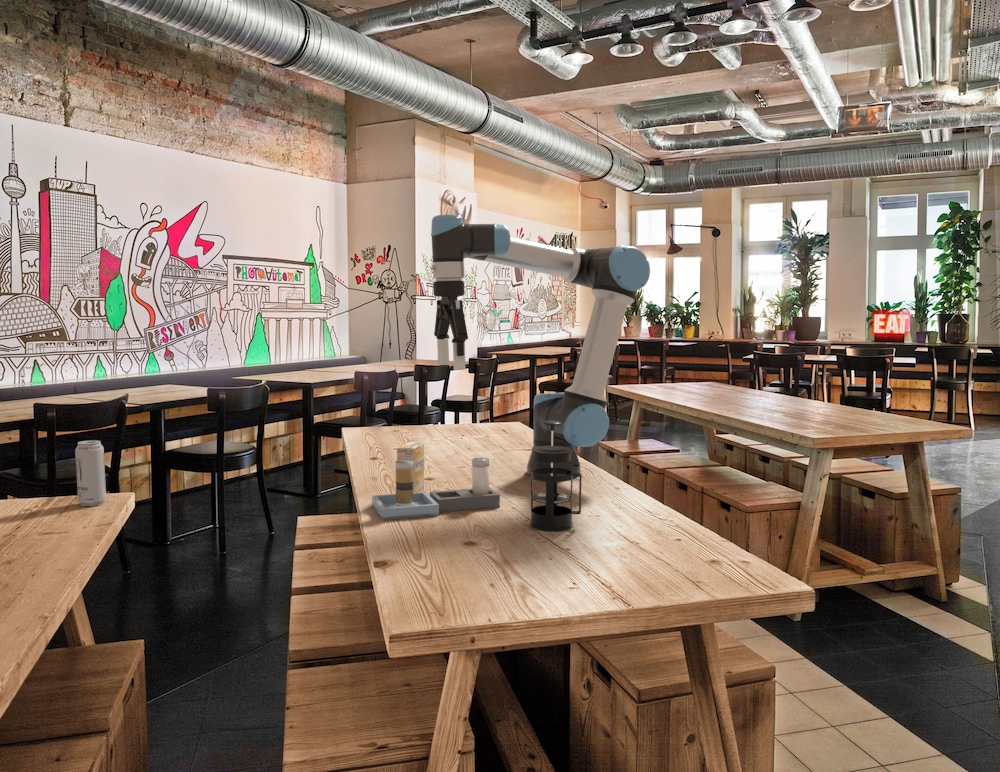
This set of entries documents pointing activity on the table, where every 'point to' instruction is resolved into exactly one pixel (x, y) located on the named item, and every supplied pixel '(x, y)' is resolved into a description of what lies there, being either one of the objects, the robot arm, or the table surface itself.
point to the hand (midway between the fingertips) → (451, 367)
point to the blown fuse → (404, 483)
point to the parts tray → (421, 508)
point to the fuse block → (465, 500)
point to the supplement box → (414, 462)
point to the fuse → (480, 476)
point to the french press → (552, 488)
